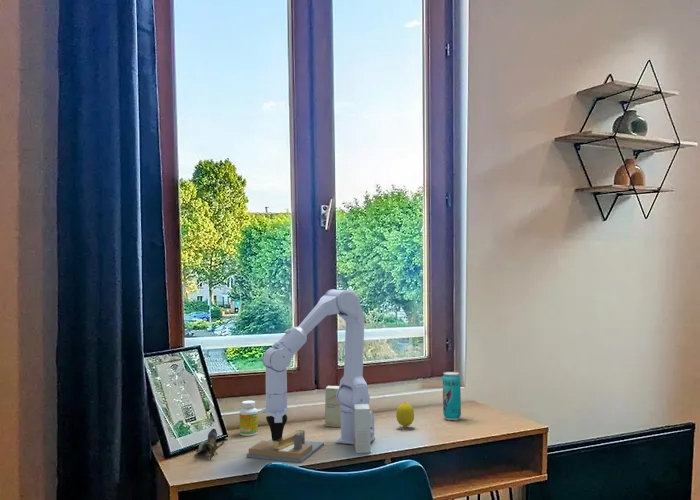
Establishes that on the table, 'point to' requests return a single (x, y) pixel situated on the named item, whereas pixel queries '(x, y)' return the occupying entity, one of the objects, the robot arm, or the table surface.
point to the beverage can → (451, 396)
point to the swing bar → (287, 440)
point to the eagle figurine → (210, 444)
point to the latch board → (285, 450)
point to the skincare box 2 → (362, 428)
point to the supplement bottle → (248, 419)
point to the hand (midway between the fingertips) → (276, 443)
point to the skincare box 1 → (332, 407)
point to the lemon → (405, 414)
